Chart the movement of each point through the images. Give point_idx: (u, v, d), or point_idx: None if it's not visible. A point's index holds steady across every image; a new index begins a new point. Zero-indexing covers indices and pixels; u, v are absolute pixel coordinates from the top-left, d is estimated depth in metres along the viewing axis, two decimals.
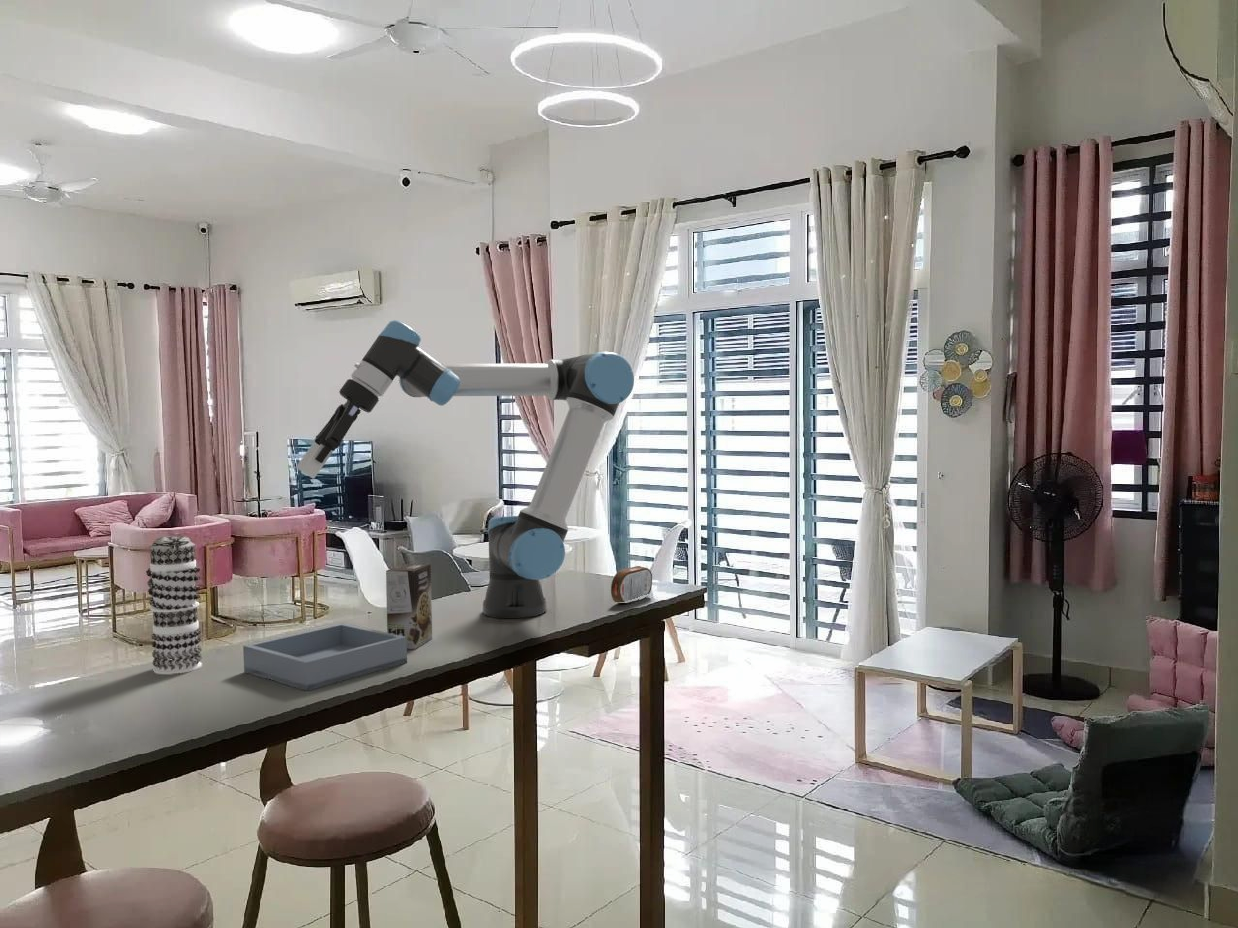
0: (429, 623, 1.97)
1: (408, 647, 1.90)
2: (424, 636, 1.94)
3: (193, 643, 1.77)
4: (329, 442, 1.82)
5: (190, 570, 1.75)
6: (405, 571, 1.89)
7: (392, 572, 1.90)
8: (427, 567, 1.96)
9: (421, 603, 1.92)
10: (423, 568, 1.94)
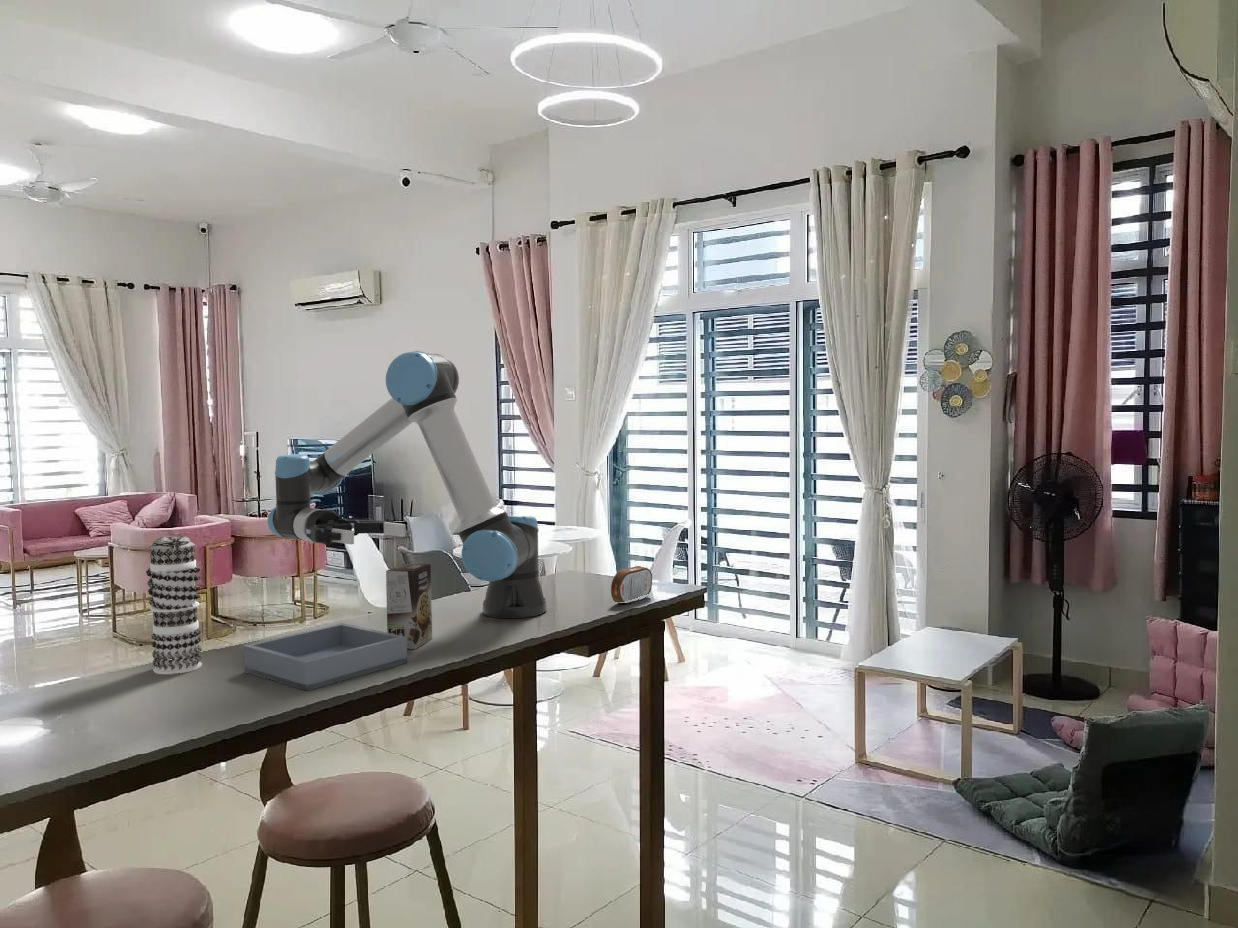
0: (429, 623, 1.97)
1: (408, 647, 1.90)
2: (424, 636, 1.94)
3: (193, 643, 1.77)
4: (317, 539, 1.96)
5: (190, 570, 1.75)
6: (405, 571, 1.89)
7: (392, 572, 1.90)
8: (427, 567, 1.96)
9: (421, 603, 1.92)
10: (423, 568, 1.94)
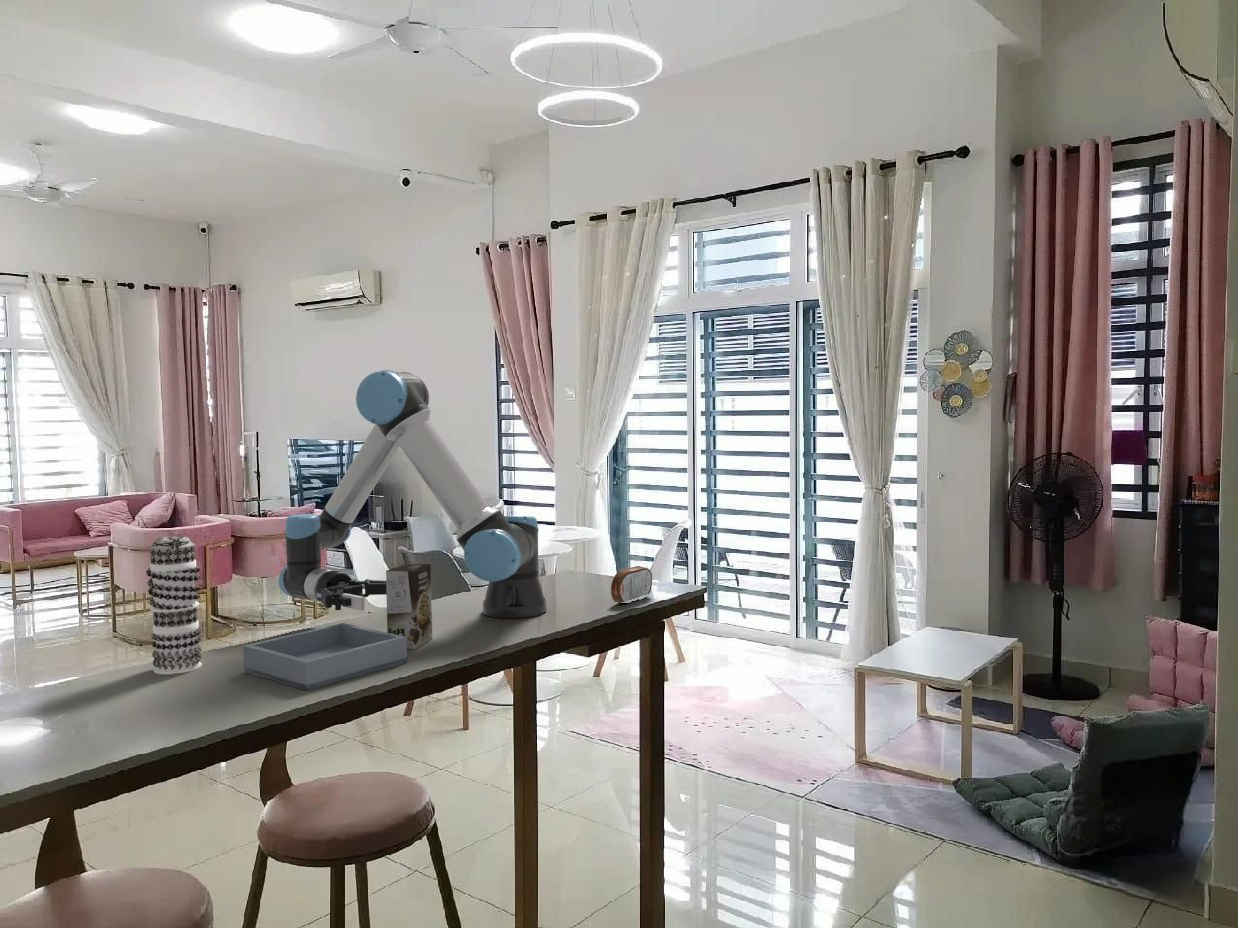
0: (429, 623, 1.97)
1: (408, 647, 1.90)
2: (424, 636, 1.94)
3: (193, 643, 1.77)
4: (327, 604, 1.94)
5: (190, 570, 1.75)
6: (405, 571, 1.89)
7: (392, 572, 1.90)
8: (427, 567, 1.96)
9: (421, 603, 1.92)
10: (423, 568, 1.94)
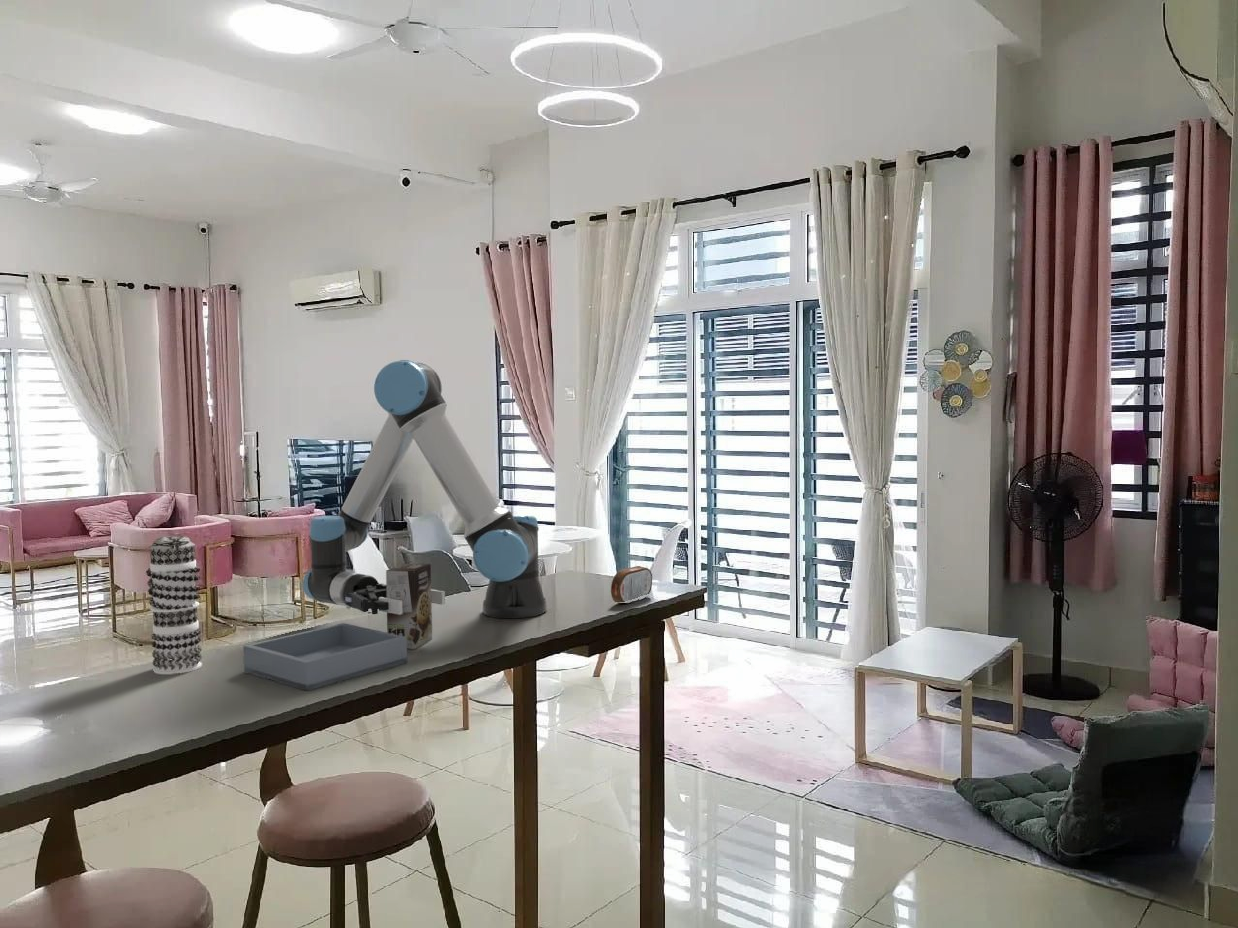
0: (429, 623, 1.97)
1: (408, 647, 1.90)
2: (424, 636, 1.94)
3: (193, 643, 1.77)
4: (364, 608, 1.89)
5: (190, 570, 1.75)
6: (405, 571, 1.89)
7: (392, 572, 1.90)
8: (427, 567, 1.96)
9: (421, 603, 1.92)
10: (423, 568, 1.94)
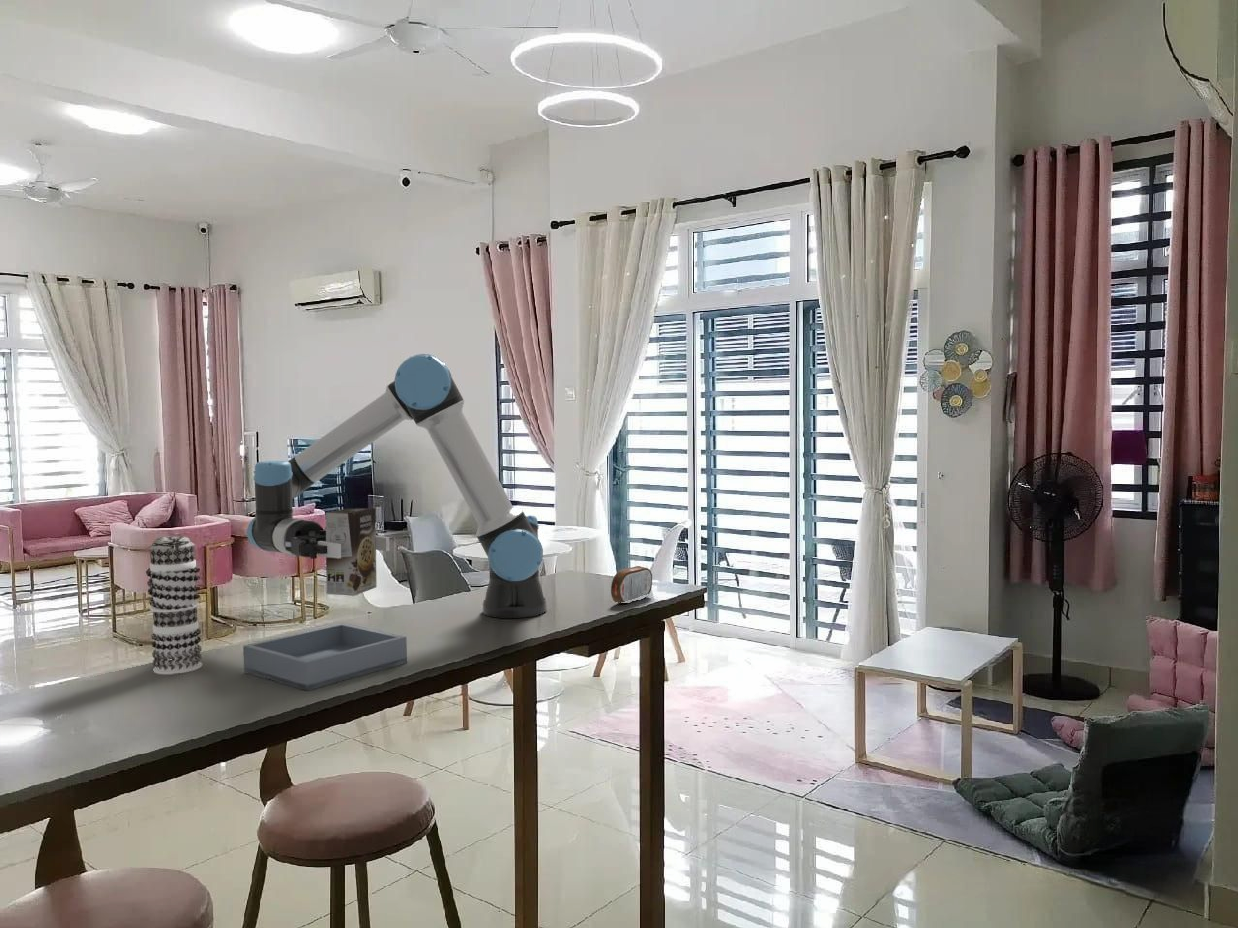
0: (373, 570, 1.87)
1: (348, 593, 1.80)
2: (366, 583, 1.84)
3: (193, 643, 1.77)
4: (301, 552, 1.80)
5: (190, 570, 1.75)
6: (345, 513, 1.80)
7: (332, 514, 1.80)
8: (371, 511, 1.86)
9: (362, 548, 1.82)
10: (366, 511, 1.84)
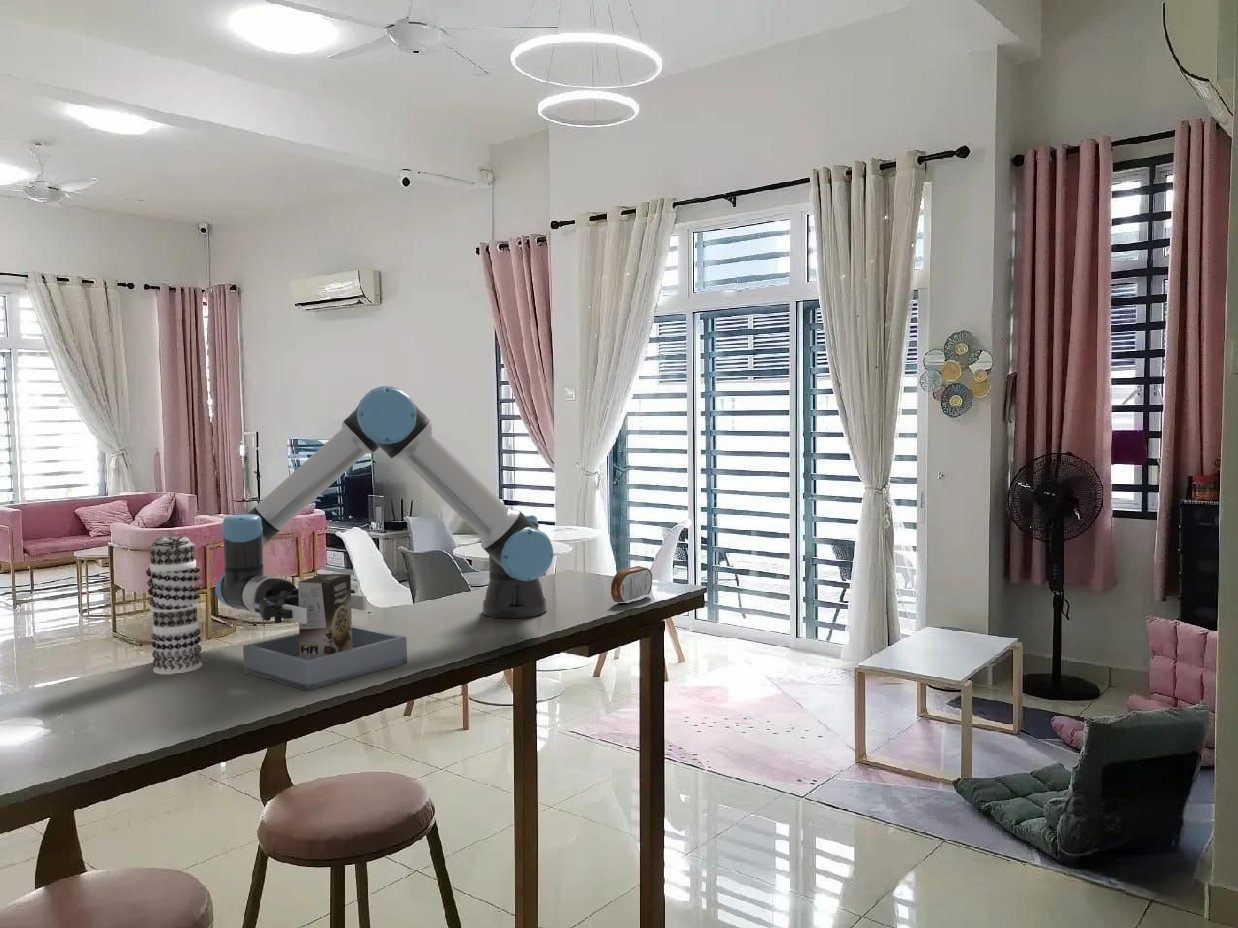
0: (348, 639, 1.80)
1: None
2: None
3: (193, 643, 1.77)
4: (265, 617, 1.72)
5: (190, 570, 1.75)
6: (319, 583, 1.72)
7: (305, 584, 1.73)
8: (346, 577, 1.79)
9: (337, 618, 1.75)
10: (341, 579, 1.76)
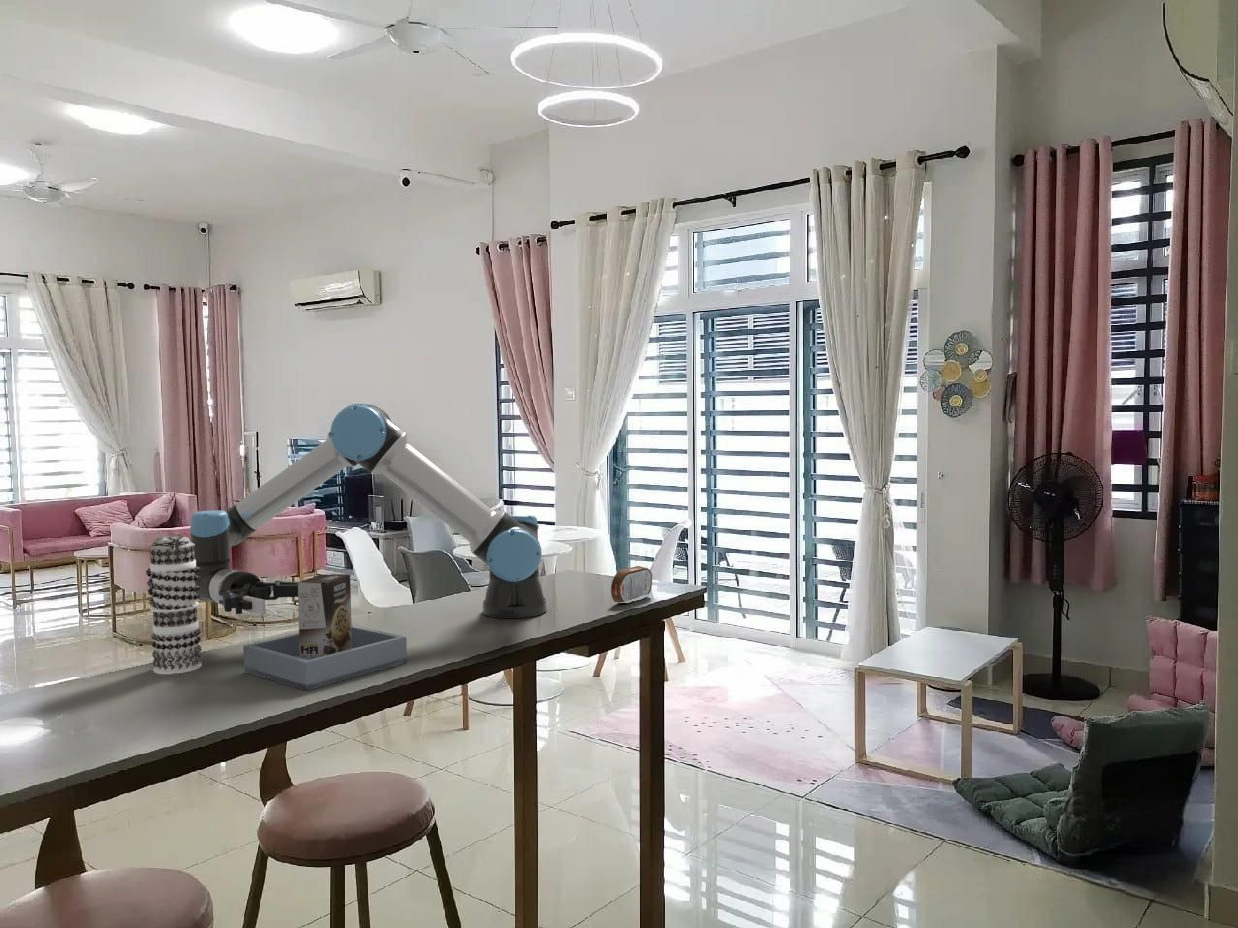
0: (348, 639, 1.80)
1: None
2: None
3: (193, 643, 1.77)
4: (226, 608, 1.79)
5: (190, 570, 1.75)
6: (318, 583, 1.72)
7: (304, 584, 1.73)
8: (346, 578, 1.79)
9: (337, 618, 1.75)
10: (340, 579, 1.77)
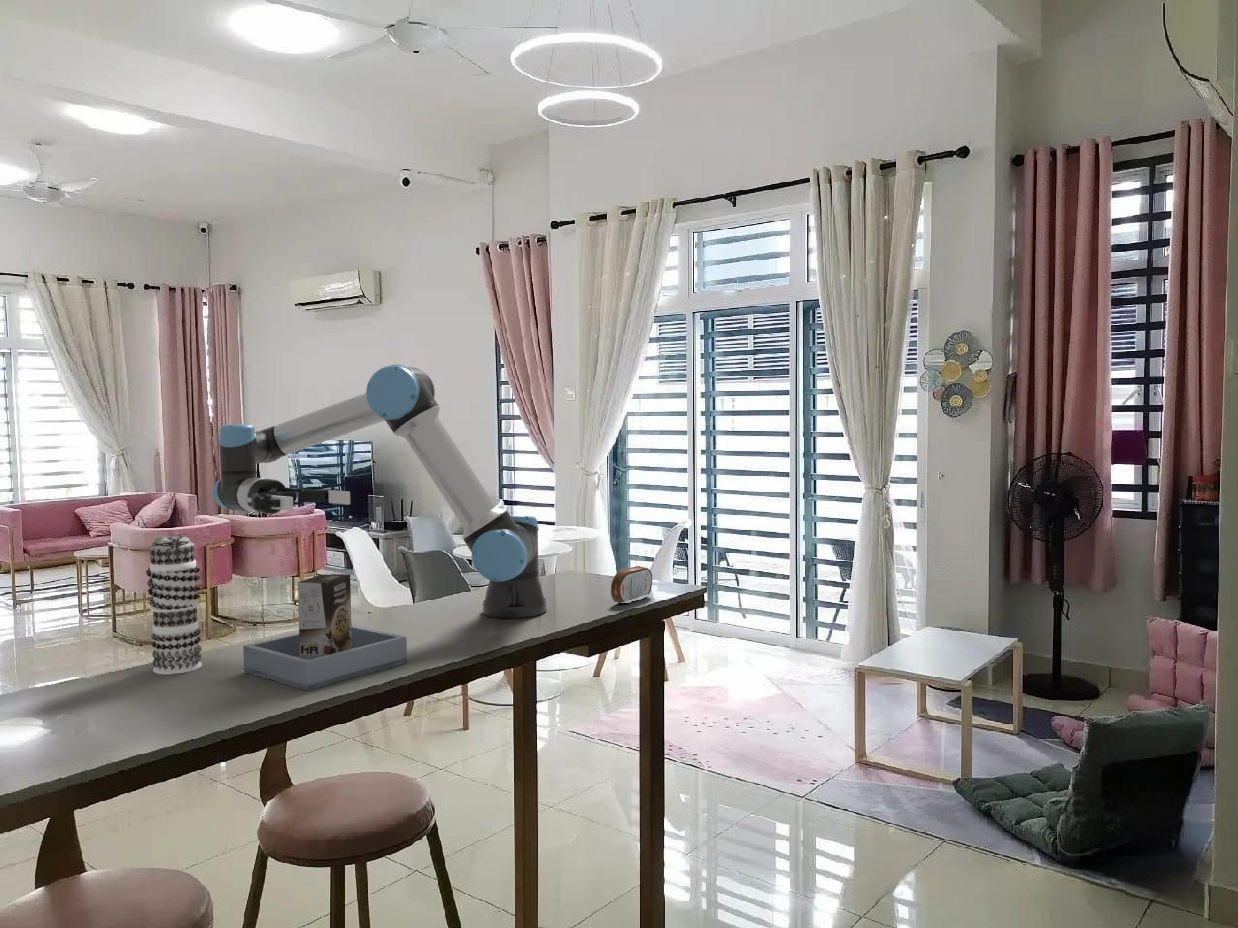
0: (348, 639, 1.80)
1: None
2: None
3: (193, 643, 1.77)
4: (255, 506, 1.89)
5: (190, 570, 1.75)
6: (318, 583, 1.72)
7: (304, 584, 1.73)
8: (346, 578, 1.79)
9: (337, 618, 1.75)
10: (340, 579, 1.77)
